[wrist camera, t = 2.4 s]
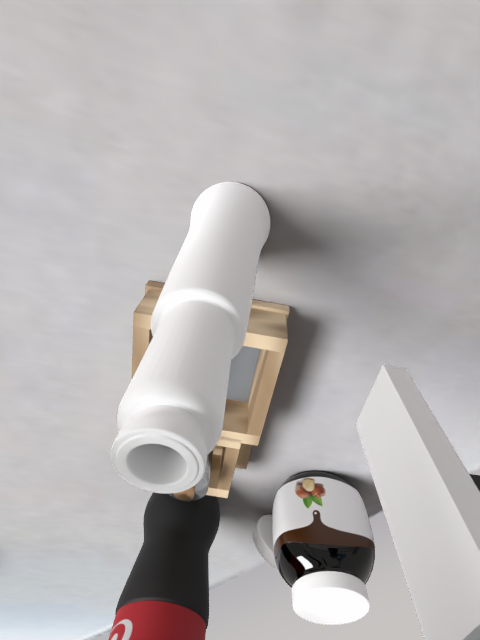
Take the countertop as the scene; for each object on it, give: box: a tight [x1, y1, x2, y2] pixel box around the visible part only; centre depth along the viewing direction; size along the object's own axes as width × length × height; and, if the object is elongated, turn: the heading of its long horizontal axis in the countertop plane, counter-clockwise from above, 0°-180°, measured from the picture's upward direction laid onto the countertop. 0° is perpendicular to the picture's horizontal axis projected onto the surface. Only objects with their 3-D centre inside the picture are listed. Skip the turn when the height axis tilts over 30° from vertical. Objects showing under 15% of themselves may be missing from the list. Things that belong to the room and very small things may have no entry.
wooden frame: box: [132, 281, 290, 498], centre depth 33 cm, size 12×20×5 cm, turn 170°
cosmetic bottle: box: [110, 182, 270, 494], centre depth 18 cm, size 6×6×22 cm
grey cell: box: [169, 449, 214, 501], centre depth 34 cm, size 4×4×7 cm
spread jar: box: [253, 471, 375, 625], centre depth 38 cm, size 12×11×12 cm
